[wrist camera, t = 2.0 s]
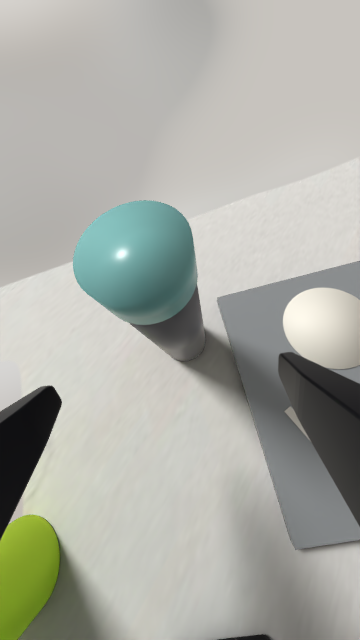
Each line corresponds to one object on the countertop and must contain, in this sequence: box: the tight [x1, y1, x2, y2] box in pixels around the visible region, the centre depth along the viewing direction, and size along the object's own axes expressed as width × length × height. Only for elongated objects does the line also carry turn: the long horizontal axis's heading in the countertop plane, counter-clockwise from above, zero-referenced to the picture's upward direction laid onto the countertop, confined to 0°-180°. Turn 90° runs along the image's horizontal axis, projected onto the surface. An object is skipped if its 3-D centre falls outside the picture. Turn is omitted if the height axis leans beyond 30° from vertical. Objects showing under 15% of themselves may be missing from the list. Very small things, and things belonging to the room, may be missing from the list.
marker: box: [73, 200, 205, 361], centre depth 13 cm, size 4×4×13 cm
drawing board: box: [217, 261, 360, 550], centre depth 15 cm, size 18×14×1 cm
